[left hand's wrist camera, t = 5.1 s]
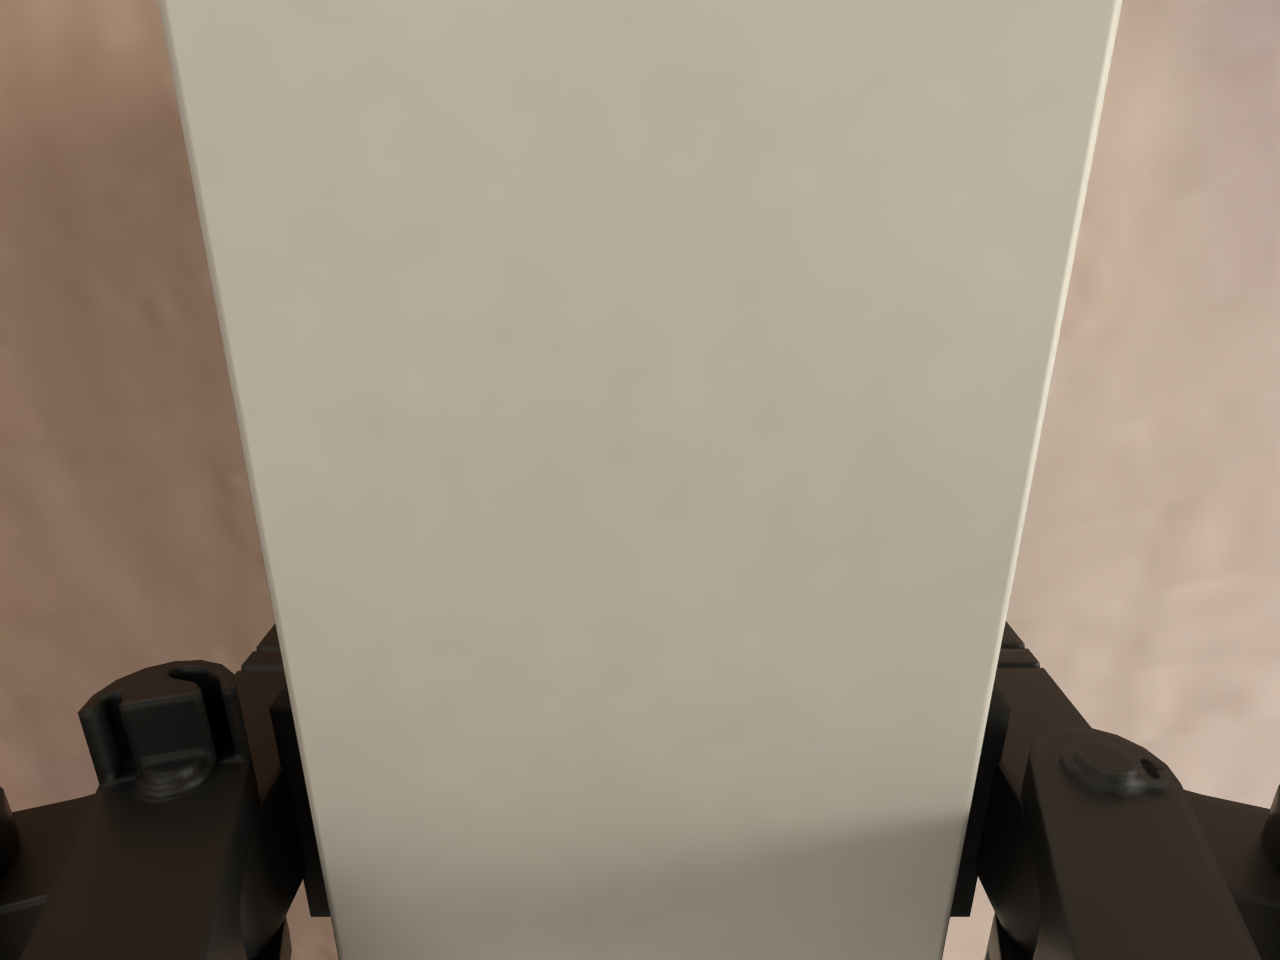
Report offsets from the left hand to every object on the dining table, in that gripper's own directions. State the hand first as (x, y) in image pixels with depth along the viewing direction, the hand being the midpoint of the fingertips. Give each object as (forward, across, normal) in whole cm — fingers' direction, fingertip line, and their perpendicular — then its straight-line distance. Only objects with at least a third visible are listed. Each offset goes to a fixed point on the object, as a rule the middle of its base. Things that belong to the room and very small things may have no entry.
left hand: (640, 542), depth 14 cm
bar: (+1, 0, -20) cm, 20 cm away
